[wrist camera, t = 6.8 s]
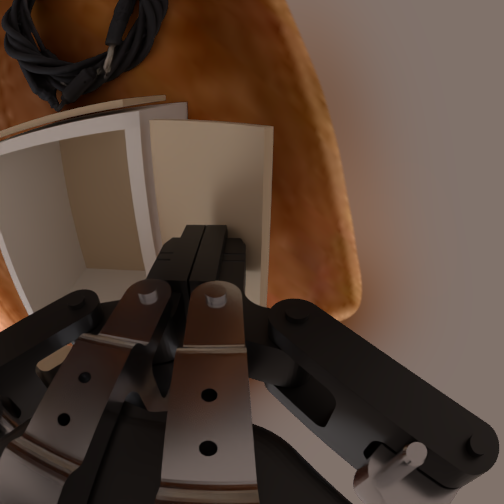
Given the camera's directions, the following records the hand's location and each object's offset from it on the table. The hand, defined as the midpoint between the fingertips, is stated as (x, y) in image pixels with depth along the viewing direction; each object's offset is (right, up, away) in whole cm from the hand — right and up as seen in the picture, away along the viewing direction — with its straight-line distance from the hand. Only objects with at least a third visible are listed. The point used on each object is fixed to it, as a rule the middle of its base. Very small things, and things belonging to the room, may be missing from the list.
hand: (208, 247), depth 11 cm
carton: (-10, +4, +13) cm, 17 cm away
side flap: (-1, +1, +1) cm, 1 cm away
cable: (-13, +21, +4) cm, 25 cm away
